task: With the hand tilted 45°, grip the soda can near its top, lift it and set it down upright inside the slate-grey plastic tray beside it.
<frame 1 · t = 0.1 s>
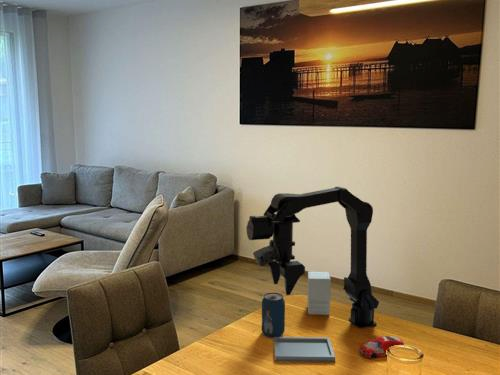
hand: (281, 289, 135), 15 cm above the table, tool pointing down, fingers open, 9 cm apart
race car: (381, 353, 129), on the table
soda can: (273, 334, 139), on the table
supplement box: (318, 311, 156), on the table
tray: (303, 351, 128), on the table
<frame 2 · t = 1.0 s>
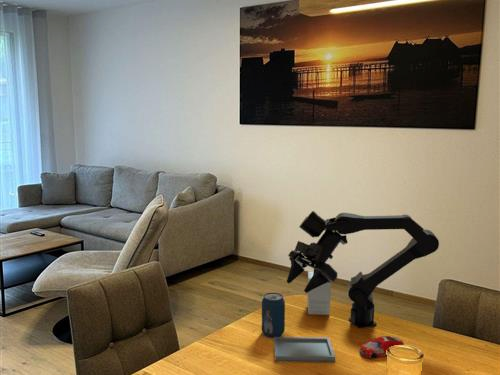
hand: (296, 287, 140), 13 cm above the table, tool tilted 45°, fingers open, 9 cm apart
nothing on the table moved.
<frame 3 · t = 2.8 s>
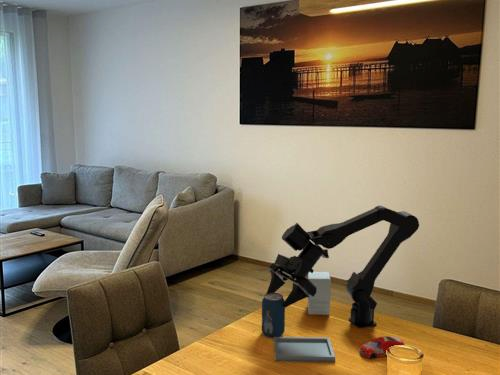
hand: (275, 301, 138), 10 cm above the table, tool tilted 45°, fingers open, 9 cm apart
nothing on the table moved.
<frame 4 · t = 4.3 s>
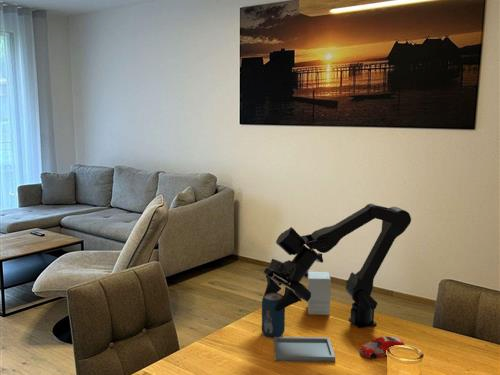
hand: (269, 306, 137), 9 cm above the table, tool tilted 45°, fingers closed on soda can, 7 cm apart
soda can: (272, 334, 139), on the table, touching gripper
everything else where it was.
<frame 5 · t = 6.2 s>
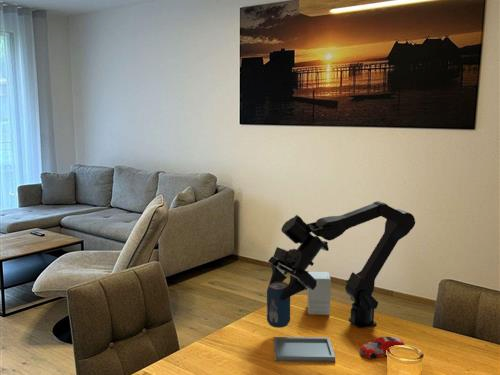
hand: (274, 295, 135), 13 cm above the table, tool tilted 45°, fingers closed on soda can, 7 cm apart
soda can: (278, 324, 137), point 4 cm above the table, touching gripper
everything else where it was.
when the fingers open (11 cm above the table, at t = 8.2 s): soda can drops 1 cm, resting on tray.
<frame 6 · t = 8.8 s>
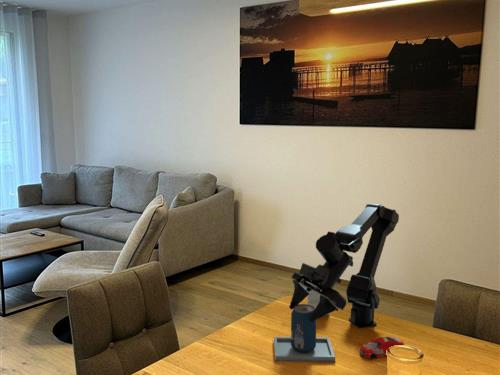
hand: (299, 314, 126), 11 cm above the table, tool tilted 45°, fingers open, 9 cm apart
soda can: (303, 349, 129), resting on tray
everything else where it was.
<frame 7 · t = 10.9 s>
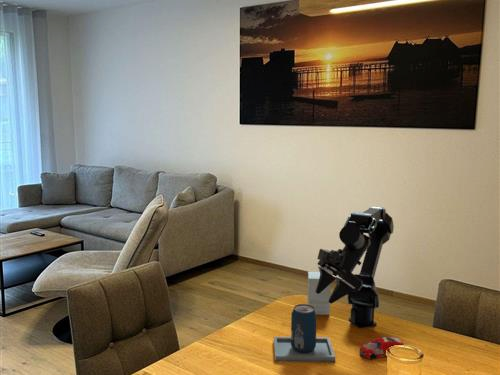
hand: (323, 297, 133), 13 cm above the table, tool tilted 35°, fingers open, 9 cm apart
nothing on the table moved.
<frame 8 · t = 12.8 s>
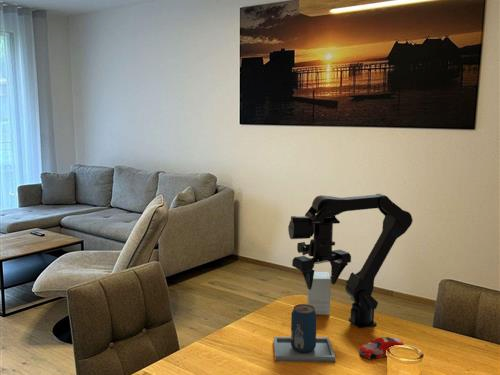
hand: (321, 286, 142), 13 cm above the table, tool pointing down, fingers open, 9 cm apart
nothing on the table moved.
at the end: soda can inside the target area on the tray (0.3 cm from its centre), point 0.4 cm above the tray's base; soda can tilted 0°; the gripper is holding nothing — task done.
